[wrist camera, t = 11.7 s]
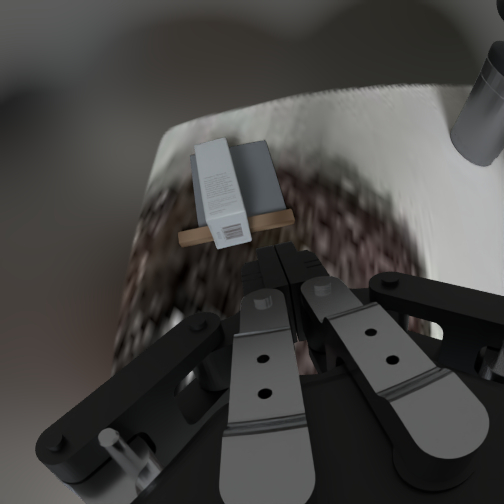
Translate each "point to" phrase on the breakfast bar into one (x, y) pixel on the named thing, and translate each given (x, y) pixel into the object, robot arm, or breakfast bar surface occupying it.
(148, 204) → the breakfast bar surface
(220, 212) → the skincare box
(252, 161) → the grey mat
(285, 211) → the walnut strip
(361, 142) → the breakfast bar surface
